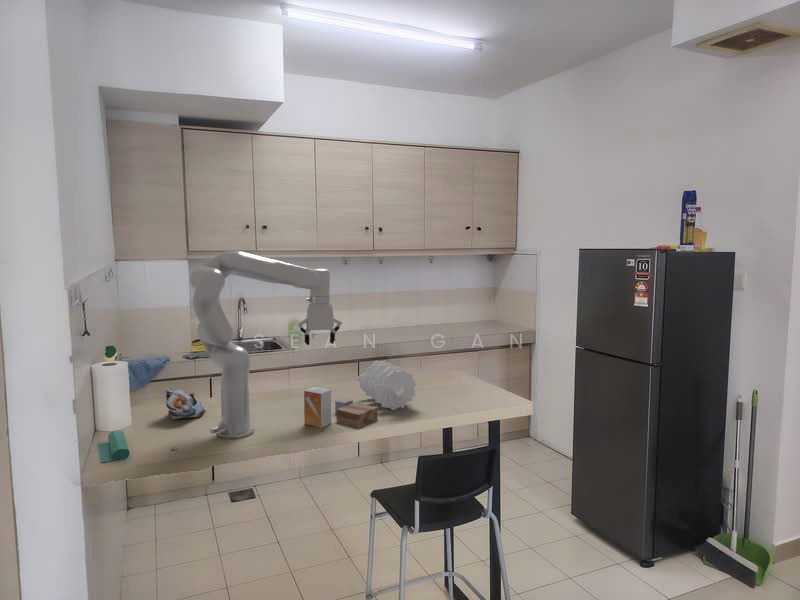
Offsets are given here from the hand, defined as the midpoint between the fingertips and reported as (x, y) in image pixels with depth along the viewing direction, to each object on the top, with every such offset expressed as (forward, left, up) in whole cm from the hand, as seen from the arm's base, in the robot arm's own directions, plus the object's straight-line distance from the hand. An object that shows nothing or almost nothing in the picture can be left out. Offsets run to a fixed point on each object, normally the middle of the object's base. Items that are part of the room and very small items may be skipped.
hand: (319, 343), depth 213 cm
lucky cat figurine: (-34, +39, -28) cm, 59 cm away
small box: (-10, -8, -28) cm, 31 cm away
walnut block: (+2, -17, -28) cm, 33 cm away
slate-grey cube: (+6, -7, -28) cm, 30 cm away
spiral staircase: (+25, -14, -28) cm, 40 cm away
